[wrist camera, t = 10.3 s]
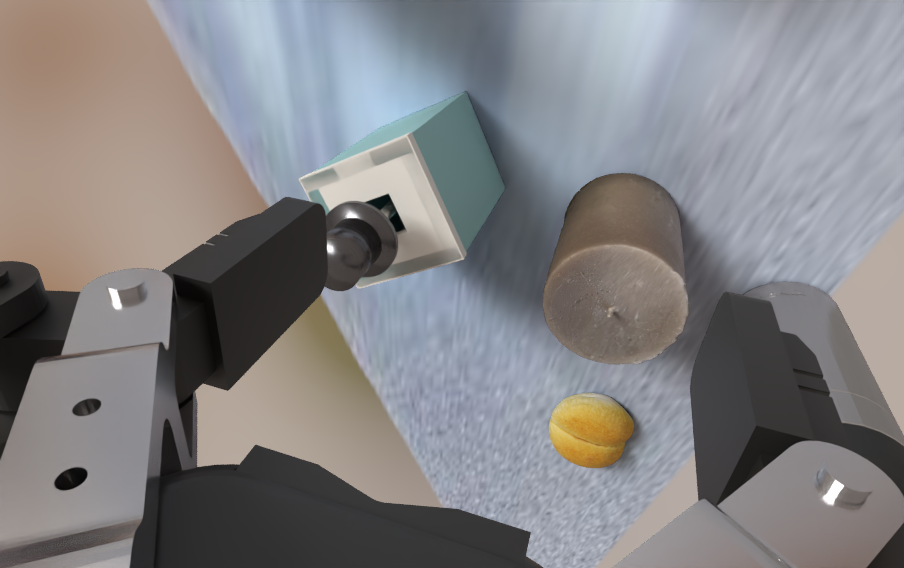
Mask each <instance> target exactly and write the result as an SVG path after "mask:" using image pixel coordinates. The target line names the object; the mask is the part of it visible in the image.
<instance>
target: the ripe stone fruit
mask: <svg viewBox="0 0 904 568" xmlns="http://www.w3.org/2000/svg"><path fill="white" fill-rule="evenodd" d="M633 431H634V423H633V420H632V418H631V417H630V415H629V414H628V413H627V412H626V411H625V410H624V408H623V407H621V406H620V405H619V404H618V403H617V402H616V401H615V400H614V399H613V398H611V397H609V396H606V395H603V394H597V393H582V394H576V395H573V396H569V397H567V398H565V399H563V400H562V401H561V402H560V403H559V404H558V405H557V406H556V407H555V409H554V410H553V412H552V415H551V420H550V423H549V433H550V439H551V442H552V444H553V446H554V447H555V449H556V451H557V452H558V453H559V454H560V455H561V456H563V457H564V458H565V459H567V460H568V461H570V462H572V463H574V464H576V465H579V466H583V467H587V468H602V467H605V466H609V465H611V464H613V463H615V462H616V461H617V460H618V459H619V458H620V457H621V455H622V453H623V450H624V446H625V441H627V440H628V439H629V438H630V437H631V436H632V433H633Z"/></svg>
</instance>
